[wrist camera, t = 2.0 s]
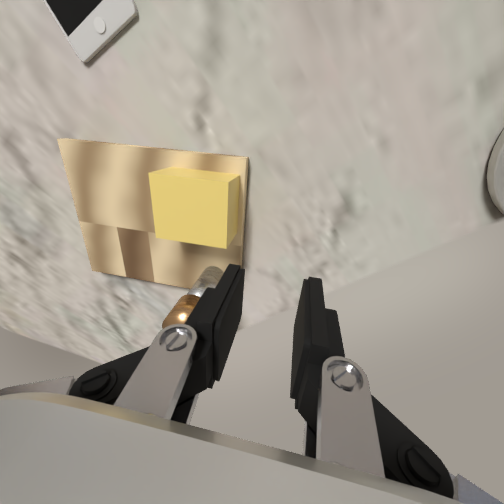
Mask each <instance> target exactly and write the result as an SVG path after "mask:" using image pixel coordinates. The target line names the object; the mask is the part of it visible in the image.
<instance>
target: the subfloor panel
mask: <svg viewBox="0 0 504 504" xmlns="http://www.w3.org/2000/svg"><path fill="white" fill-rule="evenodd" d="M57 140H58V144H59V148H60V151H61V155H62V159H63V163H64V166H65V170H66V174H67V178H68V181H69V185H70V189H71V193H72V196H73V200H74V204H75V208H76V211H77V215H78V219H79V223H80V226H81V230H82V234H83V238H84V241H85V245H86V249H87V253H88V256H89V260H90V264H91V268H92V271H97V272H102V273H108V274H113V275H118V276H124V277H129V278H135V279H140V280H146V281H151V282H156V283H162V284H167V285H173V286H178V287H183V288H189V289H191V288H192V286H193V285H194V284H195V282H196V281H197V279H198V278H199V277H200V275H201V274H202V272H203V271H204V270H205V269H206V268H207V267H209V266H216V267H218V268H220V269H221V270H222V271H223V272H225V270H226V268H227V266H228V265H229V264H236V265H241V269H242V254H243V238H244V223H245V208H246V193H247V178H248V162H249V157H242V156H232V155H223V154H213V153H203V152H193V151H184V150H174V149H164V148H155V147H145V146H135V145H125V144H116V143H106V142H96V141H87V140H77V139H57ZM169 167H177V168H186V169H195V170H204V171H212V172H221V173H230V174H239V175H240V185H239V205H238V224H237V234H236V235H235V237H234V238H233V240H232V241H231V243H230V244H229V246H228V247H227V249H224V248H218V247H211V246H205V245H199V244H192V243H186V242H180V241H173V240H167V239H161V238H156V234H155V226H154V217H153V209H152V200H151V191H150V183H149V174H148V173H150V172H154V171H157V170H161V169H165V168H169Z"/></svg>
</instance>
